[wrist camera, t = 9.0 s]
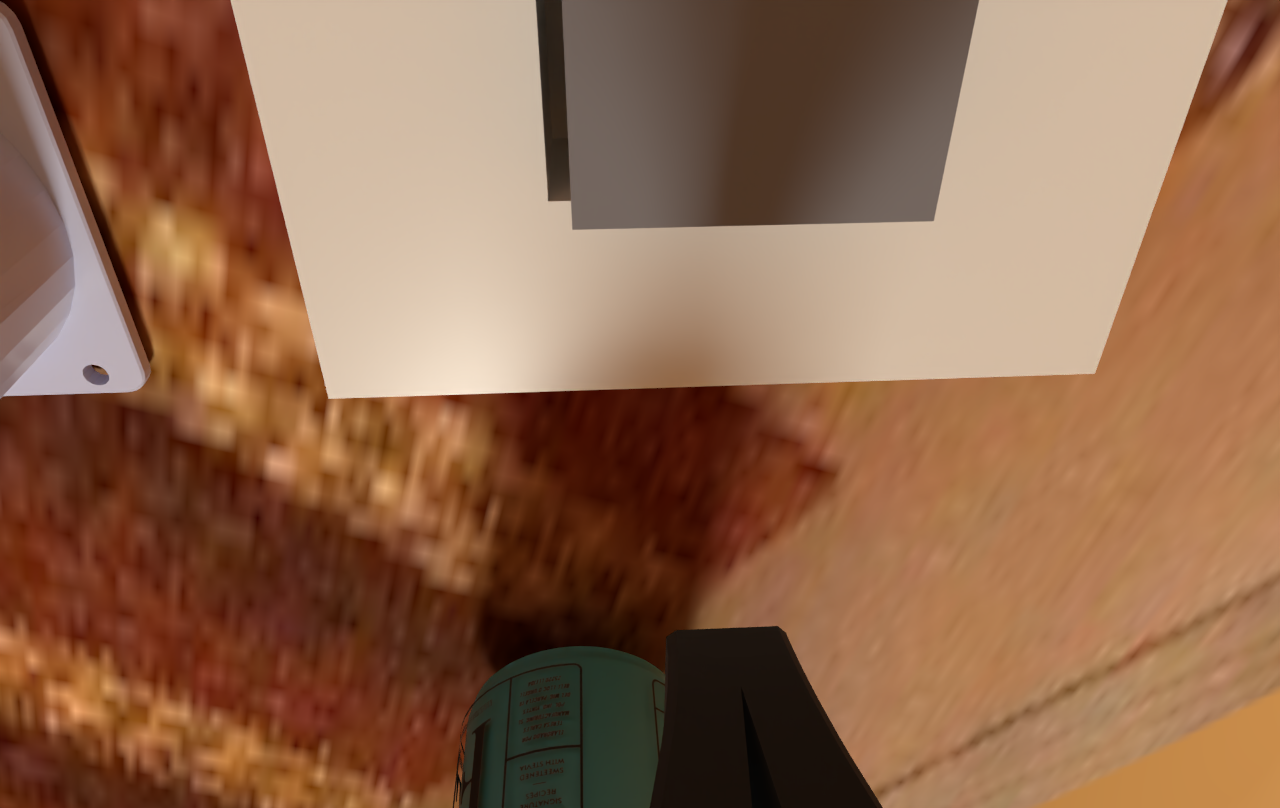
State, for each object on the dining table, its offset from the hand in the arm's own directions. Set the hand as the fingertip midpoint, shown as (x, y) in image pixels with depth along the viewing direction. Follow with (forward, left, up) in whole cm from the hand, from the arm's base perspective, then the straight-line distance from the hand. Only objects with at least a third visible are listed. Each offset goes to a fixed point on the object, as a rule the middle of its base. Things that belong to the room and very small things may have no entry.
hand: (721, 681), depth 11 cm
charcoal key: (+1, +7, -7) cm, 10 cm away
